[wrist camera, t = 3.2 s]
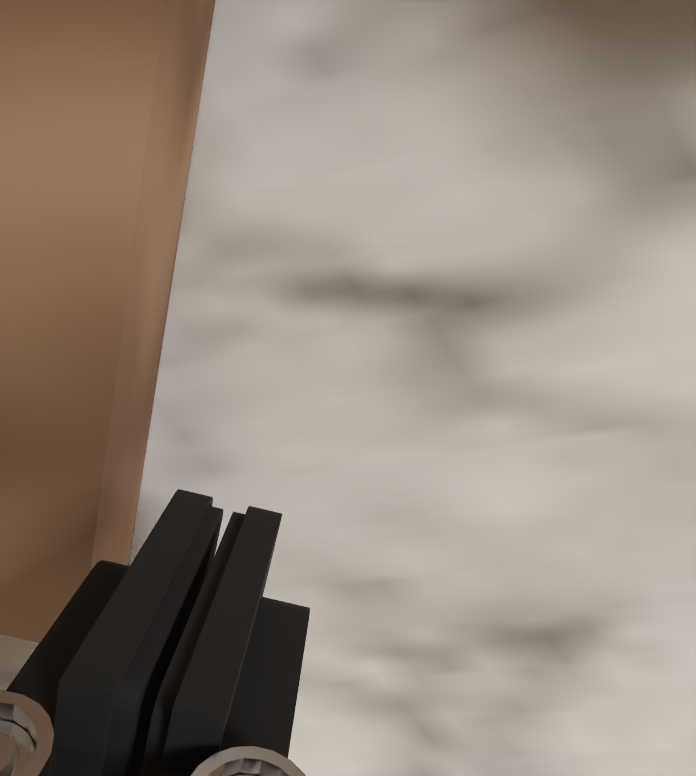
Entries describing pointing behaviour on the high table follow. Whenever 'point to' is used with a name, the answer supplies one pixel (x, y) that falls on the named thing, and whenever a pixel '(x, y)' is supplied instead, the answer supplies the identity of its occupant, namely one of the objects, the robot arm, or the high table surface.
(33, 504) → the panel
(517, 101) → the high table surface
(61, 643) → the robot arm
